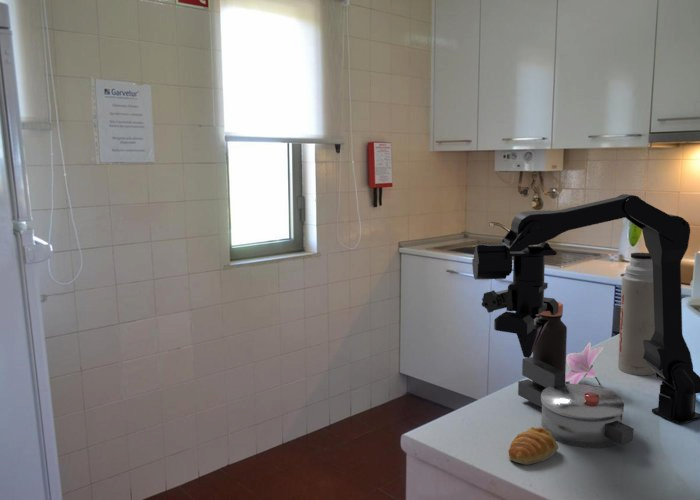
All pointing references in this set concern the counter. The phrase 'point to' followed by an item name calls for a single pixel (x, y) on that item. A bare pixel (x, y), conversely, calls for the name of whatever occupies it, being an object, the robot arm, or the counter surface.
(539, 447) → the pastry
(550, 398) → the lid
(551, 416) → the pot
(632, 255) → the thermos bottle
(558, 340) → the vinegar
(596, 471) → the counter surface
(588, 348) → the lily
